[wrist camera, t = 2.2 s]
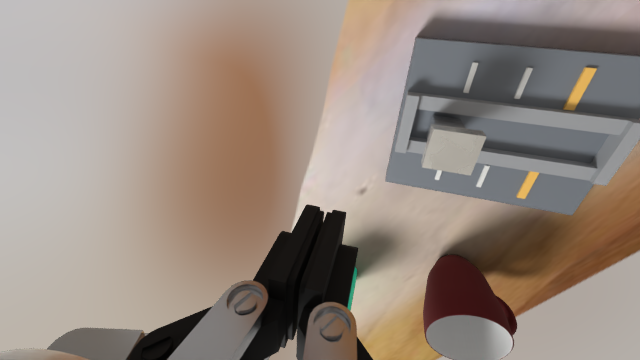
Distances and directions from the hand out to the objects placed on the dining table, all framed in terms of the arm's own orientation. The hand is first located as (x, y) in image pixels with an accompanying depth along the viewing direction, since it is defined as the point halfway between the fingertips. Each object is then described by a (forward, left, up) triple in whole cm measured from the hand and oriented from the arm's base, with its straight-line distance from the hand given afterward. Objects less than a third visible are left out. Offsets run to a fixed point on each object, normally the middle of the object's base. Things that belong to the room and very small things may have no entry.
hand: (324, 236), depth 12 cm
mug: (+19, +15, -20) cm, 32 cm away
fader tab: (0, +7, -18) cm, 19 cm away
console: (0, +12, -20) cm, 24 cm away
